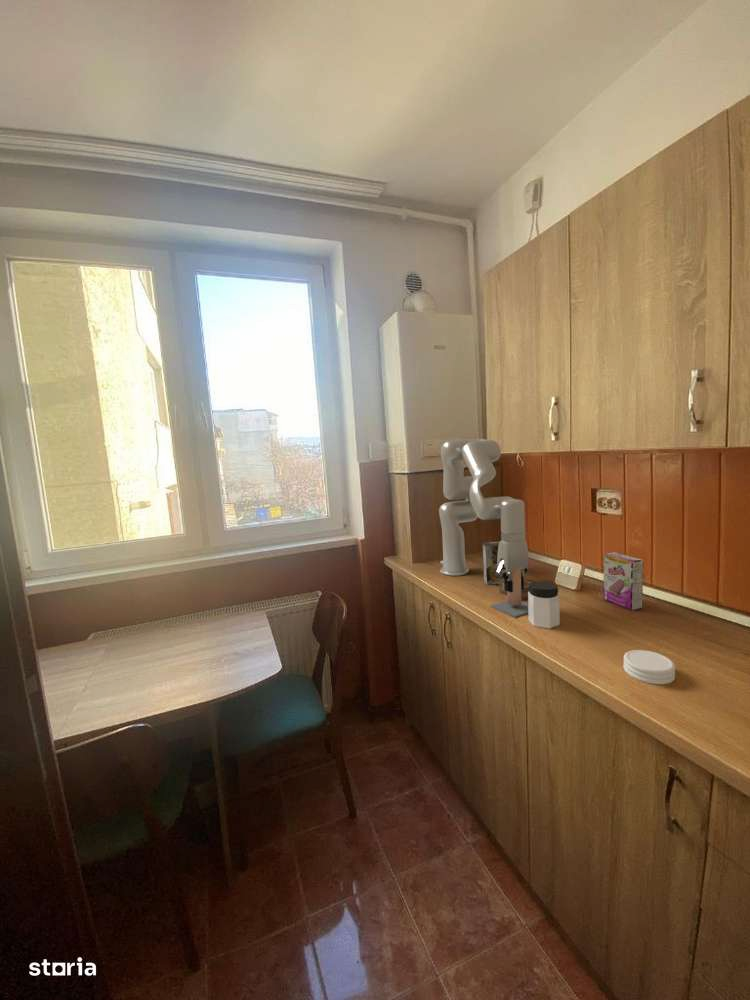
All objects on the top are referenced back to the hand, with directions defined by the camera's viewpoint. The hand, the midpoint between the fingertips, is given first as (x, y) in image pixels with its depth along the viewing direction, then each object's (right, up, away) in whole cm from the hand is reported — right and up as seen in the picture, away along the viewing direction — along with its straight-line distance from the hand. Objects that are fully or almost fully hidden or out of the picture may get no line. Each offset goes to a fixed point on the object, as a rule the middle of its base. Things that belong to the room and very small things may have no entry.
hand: (514, 589), depth 135 cm
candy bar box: (+36, -5, -1) cm, 36 cm away
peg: (0, -5, 0) cm, 5 cm away
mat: (0, -7, +1) cm, 7 cm away
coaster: (+17, -11, -41) cm, 46 cm away
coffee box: (+3, -4, +28) cm, 29 cm away
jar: (+5, -8, -11) cm, 15 cm away
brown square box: (+6, -5, +13) cm, 16 cm away
